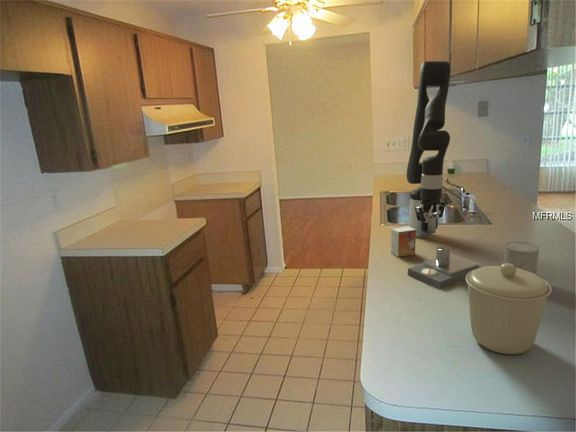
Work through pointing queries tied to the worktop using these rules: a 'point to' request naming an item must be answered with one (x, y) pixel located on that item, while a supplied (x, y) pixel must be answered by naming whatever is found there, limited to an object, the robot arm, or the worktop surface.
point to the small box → (403, 241)
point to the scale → (437, 275)
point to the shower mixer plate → (453, 265)
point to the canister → (506, 307)
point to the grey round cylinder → (522, 255)
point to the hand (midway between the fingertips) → (429, 229)
